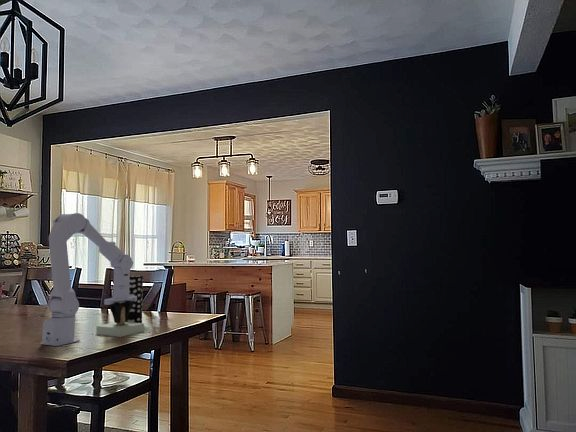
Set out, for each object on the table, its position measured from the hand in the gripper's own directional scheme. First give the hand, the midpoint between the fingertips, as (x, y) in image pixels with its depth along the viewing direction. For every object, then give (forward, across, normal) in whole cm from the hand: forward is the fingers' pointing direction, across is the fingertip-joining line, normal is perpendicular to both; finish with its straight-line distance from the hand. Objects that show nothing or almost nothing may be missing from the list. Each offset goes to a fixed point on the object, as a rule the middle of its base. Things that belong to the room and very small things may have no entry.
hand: (120, 322), depth 176 cm
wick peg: (+2, 0, 0) cm, 2 cm away
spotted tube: (+4, +18, +12) cm, 22 cm away
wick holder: (+4, 0, 0) cm, 4 cm away
